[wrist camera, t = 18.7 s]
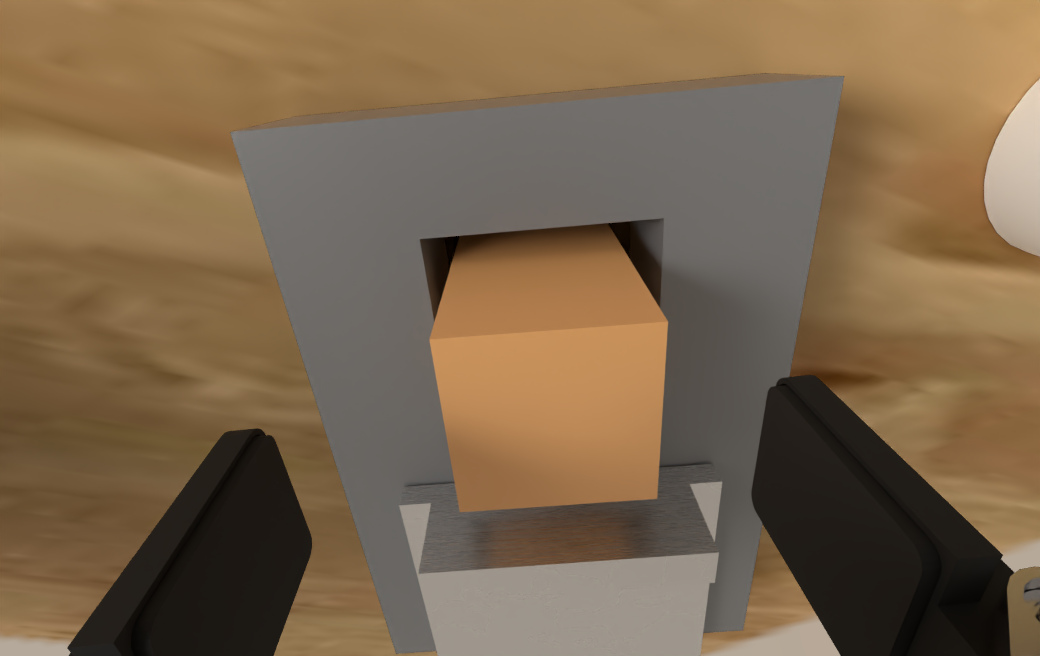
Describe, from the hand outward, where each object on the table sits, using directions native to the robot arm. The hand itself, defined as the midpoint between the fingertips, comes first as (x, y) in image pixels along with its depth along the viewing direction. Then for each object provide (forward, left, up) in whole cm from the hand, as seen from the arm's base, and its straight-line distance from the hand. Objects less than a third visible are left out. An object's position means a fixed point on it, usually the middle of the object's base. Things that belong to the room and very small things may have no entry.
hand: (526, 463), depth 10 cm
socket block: (+1, -4, -9) cm, 10 cm away
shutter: (+1, -10, -5) cm, 11 cm away
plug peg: (+1, 0, -9) cm, 9 cm away
